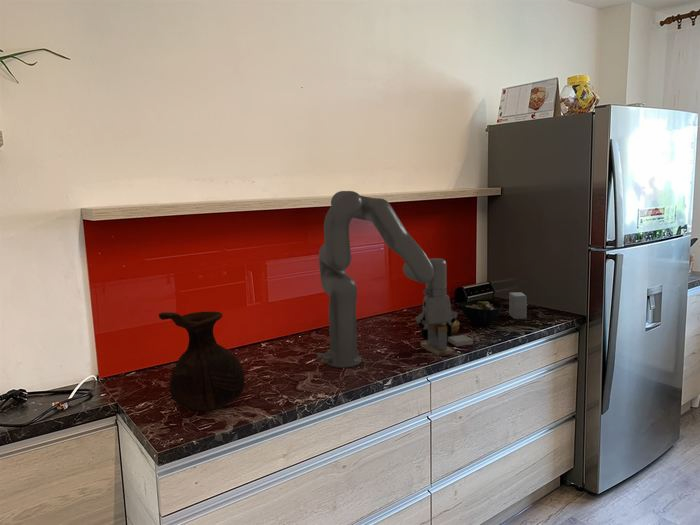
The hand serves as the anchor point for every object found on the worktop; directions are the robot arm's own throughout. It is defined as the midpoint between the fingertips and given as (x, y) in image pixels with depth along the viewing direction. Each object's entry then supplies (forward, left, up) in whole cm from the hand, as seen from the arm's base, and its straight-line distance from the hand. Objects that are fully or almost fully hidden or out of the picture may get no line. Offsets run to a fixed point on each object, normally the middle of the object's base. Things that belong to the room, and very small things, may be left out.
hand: (436, 337), depth 196 cm
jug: (-84, -15, -5) cm, 86 cm away
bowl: (+34, +23, -5) cm, 41 cm away
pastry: (+14, +18, -5) cm, 23 cm away
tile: (+9, +4, -4) cm, 10 cm away
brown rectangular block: (0, 0, -3) cm, 3 cm away
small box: (+55, +26, -5) cm, 61 cm away
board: (0, 0, -5) cm, 5 cm away
